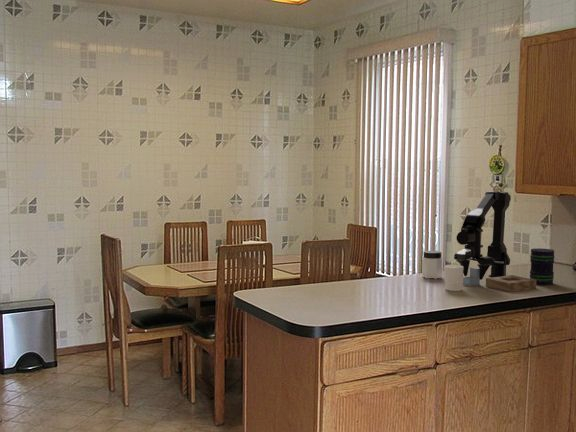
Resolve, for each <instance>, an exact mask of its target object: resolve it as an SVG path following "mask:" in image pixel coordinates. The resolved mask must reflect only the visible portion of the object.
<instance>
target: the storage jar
mask: <svg viewBox="0 0 576 432" xmlns="http://www.w3.org/2000/svg"><path fill="white" fill-rule="evenodd" d="M529 257H530V258H529V259H530V261H529V262H530V270H529V279H534V280H536V286H542V287H543V286H548V287H549V286H553V285H554V275H555V272H554V263H555V250H554V249H549V248H537V247H536V248H531V249H530V256H529Z"/></svg>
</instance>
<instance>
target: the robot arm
mask: <svg viewBox="0 0 576 432" xmlns="http://www.w3.org/2000/svg"><path fill="white" fill-rule="evenodd" d="M511 199H512V197H511V195H510V194H509V192H508V191H495V190H488V191H485V194H484V196H483V197H482V199H481V201H480V202H479V203H478V205H477V207H476V208H475V209H474V210H471V211H469V212H468V214H467V215H465V217H464V220H463V223H462V225H461V228H460V231H459V232H458V233H457V234H456V241H457V243H458V244H459V245H461V246H462V245H463V246H464V248H463V249H462V248H461V250H459V251H457V252H455V253H454V255H453V259H454V260H455V261H456V262H457V263H458V264H459V265H461V266H464V270H463V277H468V274H469V270H470V262H471V261H474V262H477V263H478V264H477V265H476V266H477V268H479V277H480V281H481V280H483V278H484V276H486V275H485V274H486V273H487V272H488V270H489V268H490V274H489V275H488V277H489V278H492V277H501V276H507V266H510V264H511V258H510V257H509V254H508V251H507V250H508V249H507V246H506V245H505V243H504V239H505V238H504V237H505V224H506V223H505V221H506V211H507V209H508V208H509V207H510V204H511V203H510V202H511ZM491 208H492V210H493V225H492V226H493V227H492V241H491V243H490V245H488V246H487V252H486V253H487V254H486V256H483V254H482V253H481V249H482V248H483V247H484V245H483V244H482V232H484V230H483V226H484V225H485V222H486V215H487V214H488V212H489V211H490V209H491Z"/></svg>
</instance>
